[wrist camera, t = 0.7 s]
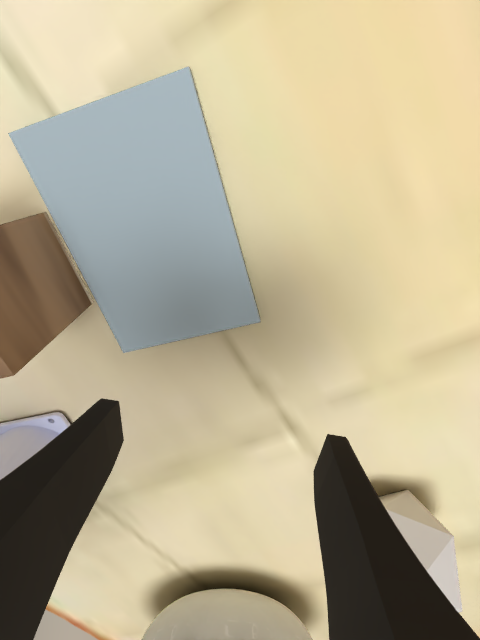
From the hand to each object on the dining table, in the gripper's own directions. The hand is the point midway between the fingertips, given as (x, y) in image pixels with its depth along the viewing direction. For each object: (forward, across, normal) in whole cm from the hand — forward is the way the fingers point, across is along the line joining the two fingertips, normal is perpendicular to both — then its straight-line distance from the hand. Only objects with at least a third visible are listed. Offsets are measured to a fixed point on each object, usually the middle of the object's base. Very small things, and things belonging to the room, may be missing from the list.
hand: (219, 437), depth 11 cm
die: (+11, -15, +20) cm, 27 cm away
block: (+10, +13, 0) cm, 17 cm away
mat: (+11, +6, -3) cm, 13 cm away
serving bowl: (+9, -3, +43) cm, 44 cm away
